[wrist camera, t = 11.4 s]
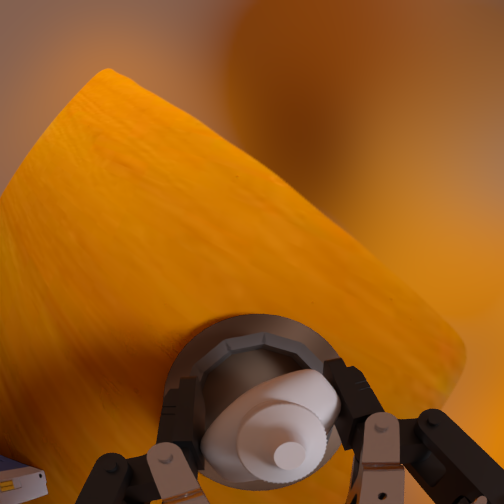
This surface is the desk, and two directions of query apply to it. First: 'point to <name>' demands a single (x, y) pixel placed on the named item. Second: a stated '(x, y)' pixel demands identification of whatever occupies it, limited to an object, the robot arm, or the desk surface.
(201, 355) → the bottle collar
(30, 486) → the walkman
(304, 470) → the eye dropper bottle
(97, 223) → the desk surface
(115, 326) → the desk surface
